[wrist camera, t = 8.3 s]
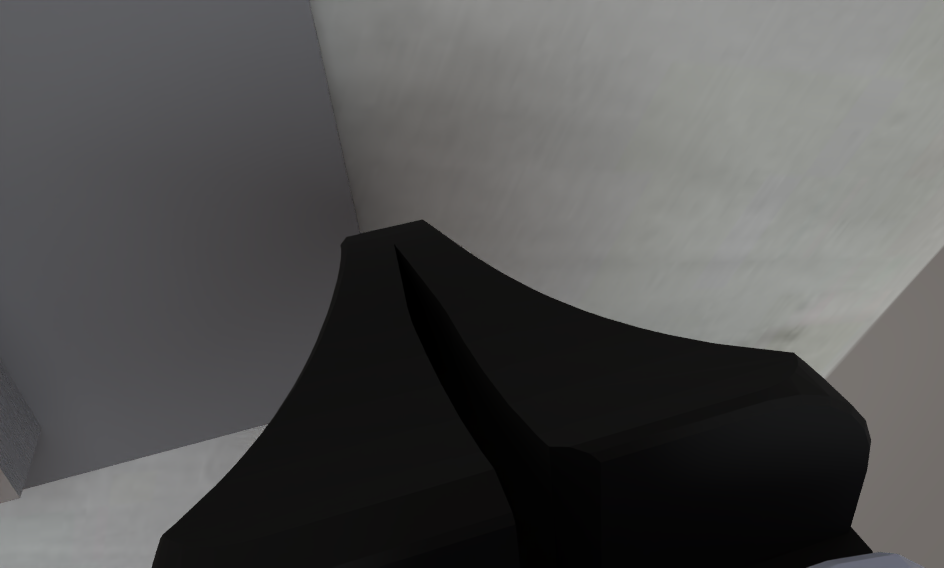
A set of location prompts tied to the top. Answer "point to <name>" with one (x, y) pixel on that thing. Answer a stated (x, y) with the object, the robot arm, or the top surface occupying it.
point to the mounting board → (162, 219)
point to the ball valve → (15, 437)
